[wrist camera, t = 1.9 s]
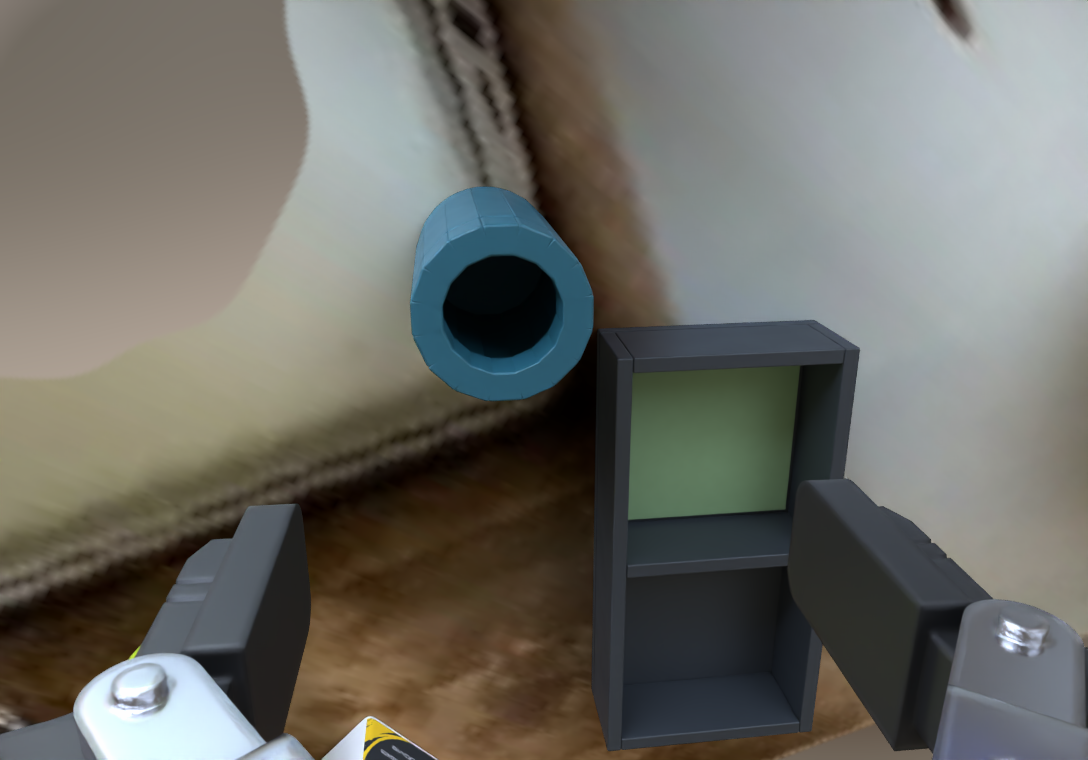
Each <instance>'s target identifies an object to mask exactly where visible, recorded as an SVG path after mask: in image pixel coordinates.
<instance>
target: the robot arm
mask: <svg viewBox="0 0 1088 760" xmlns="http://www.w3.org/2000/svg"><path fill="white" fill-rule="evenodd" d="M787 572H788V582H789V587H790V591H791V594H792V597H793V599H794V601H795V603H796V605H797V606H798V608H799V609H800V611H801V612H802V614H803V615H804V617H805V618H806V620H807V621H808V623H809V624H810V626H811V627H812V629H813V630H814V632H815V633H816V635H817V636H818V638H819V639H820V641H821V642H822V644H823V645H824V647H825V648H826V650H827V651H828V653H829V654H830V656H831V657H832V659H833V660H834V662H835V663H836V665H837V666H838V668H839V669H840V671H841V672H842V674H843V675H844V677H845V678H846V680H847V681H848V683H849V684H850V686H851V687H852V689H853V690H854V692H855V693H856V695H857V696H858V698H859V699H860V701H861V702H862V704H863V705H864V707H865V708H866V710H867V711H868V713H869V714H870V716H871V717H872V719H873V720H874V722H875V723H876V725H877V726H878V728H879V729H880V731H881V732H882V734H883V735H884V736H885V738H886V740H887V741H888V743H889V744H890V745H891V747H892V748H893V750H894V751H901V750H914V749H926V748H929V749H930V750H931V752H932V753H933V758H932V760H1088V648H1087V647H1084V644H1083V641H1082V639H1081V637H1080V636H1079V635H1078V634H1077V632H1076V631H1075V630H1074V629H1073V628H1072V627H1070V626H1069V625H1068V624H1067V623H1065V622H1064V621H1063V620H1061V619H1059V618H1058V617H1056V616H1054V615H1052V614H1050V613H1048V612H1046V611H1044V610H1041V609H1039V608H1036V607H1034V606H1030V605H1027V604H1024V603H1019V602H1015V601H1009V600H999V599H993V598H992V597H991V596H990V595H989V594H988V593H987V592H986V591H985V590H984V589H983V588H981V587H980V586H979V585H978V584H977V583H976V582H975V581H974V580H973V579H972V578H971V577H970V576H969V575H968V574H967V573H966V572H965V571H964V570H963V569H961V568H960V567H959V566H958V565H957V564H956V563H955V562H954V561H953V560H952V559H951V558H947V556H946V553H945V552H944V551H942V550H941V549H940V548H939V547H938V546H937V545H936V544H935V543H931V539H930V538H929V537H928V536H927V535H926V534H925V533H924V532H922V531H921V530H920V529H919V528H918V527H917V526H916V525H915V524H914V523H913V522H912V521H910V520H908V519H906V518H904V517H903V516H901V515H899V514H897V513H895V512H893V511H891V510H889V509H887V508H885V507H884V506H880V507H878V506H877V505H876V504H875V503H874V502H873V501H872V500H871V499H870V498H869V497H868V496H867V495H866V494H865V493H864V492H863V491H862V490H861V489H860V488H859V487H858V486H857V485H856V484H855V483H854V482H853V481H851V480H849V479H830V480H809V481H802V482H801V483H800V485H799V486H798V489H797V492H796V497H795V505H794V514H793V522H792V531H791V539H790V547H789V556H788V566H787ZM310 614H311V595H310V584H309V574H308V565H307V555H306V546H305V537H304V527H303V519H302V512H301V509H300V506H299V504H282V505H261V506H249V507H248V508H247V509H246V511H245V513H244V516H243V518H242V520H241V522H240V524H239V526H238V528H237V530H236V533H235V535H234V537H233V539H215V540H211V541H210V542H209V543H207V544H206V545H205V546H204V547H202V548H201V549H200V550H198V551H197V552H196V553H195V554H193V555H192V556H191V557H190V558H188V559H187V561H186V563H185V565H184V567H183V569H182V571H181V572H180V574H179V576H178V578H177V580H176V585H173V587H172V589H171V591H170V593H169V595H168V596H167V602H166V603H164V604H163V606H162V607H161V609H160V611H159V613H158V615H157V617H156V619H155V620H154V622H153V624H152V626H151V628H150V630H149V631H148V633H147V635H146V637H145V639H144V641H143V642H142V644H141V646H140V648H139V650H138V652H137V654H136V655H135V657H134V658H132V659H129V660H127V661H124V662H122V663H119V664H117V665H115V666H113V667H111V668H109V669H107V670H106V671H104V672H102V673H101V674H99V675H98V676H97V677H95V678H94V679H93V680H92V681H90V682H89V683H88V684H87V685H86V686H85V687H84V689H83V690H82V691H81V692H80V694H79V695H78V697H77V699H76V701H75V704H74V708H73V712H72V713H70V714H67V715H65V716H62V717H59V718H56V719H53V720H50V721H46V722H43V723H39V724H35V725H32V726H28V727H25V728H21V729H17V730H14V731H10V732H7V733H3V734H0V760H314V758H313V757H312V756H311V755H310V754H309V753H308V752H307V751H306V749H305V748H304V747H303V746H302V745H301V744H300V743H299V742H298V741H297V740H296V739H295V738H294V737H293V736H291V735H289V734H287V733H283V731H284V727H285V723H286V719H287V715H288V711H289V707H290V703H291V699H292V695H293V691H294V687H295V683H296V680H297V676H298V672H299V668H300V664H301V660H302V656H303V652H304V648H305V644H306V640H307V636H308V631H309V625H310Z"/></svg>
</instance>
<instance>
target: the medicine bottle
mask: <svg viewBox="0 0 1088 760" xmlns="http://www.w3.org/2000/svg"><path fill="white" fill-rule="evenodd" d="M321 760H438V759H437V758H435V757H434V756H432V755H431V754H429V753H428V752H426V751H425V750H423V749H422V748H420V747H419V746H417V745H416V744H414V743H413V742H411V741H410V740H408V739H407V738H405V737H403V736H402V735H400V734H399V733H397V732H396V731H394V730H393V729H391V728H390V727H388V726H387V725H385V724H384V723H382V722H381V721H379V720H378V719H376V718H375V717H372V716H369V717H366V718H365V719H363V720H362V721H361V722H360V723H359V724H358V725H357V726H356V727H355V728H354V729H353V730H352V731H351V732H350V733H349V734H348V735H347V736H346V737H344V738H343V739H342V740H341V741H340V742H339V743H338V744H337V745H336V746H335V747H334V748H333V749H332V750H331V751H330V752H329V753H328V754H327V755H325V756H324V757H323V758H322V759H321Z"/></svg>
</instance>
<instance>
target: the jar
mask: <svg viewBox="0 0 1088 760" xmlns="http://www.w3.org/2000/svg"><path fill="white" fill-rule="evenodd" d="M593 302H594V297H593V295H592V289H591V287H590V285H589V282H588V280H587V277H586V275H585V272H584V270H583V268H582V265H581V264H580V262H579V261H578V259H577V258H576V257H575V255H574V254H573V253H572V252H571V250H570V249H569V248H568V247H567V245H566V244H565V243H564V242H563V240H562V239H561V238H560V237H559V236H558V234H557V233H556V232H555V231H554V229H553V228H552V227H551V226H550V224H549V223H548V222H547V221H546V220H545V218H544V217H543V216H542V215H541V214H540V213H539V212H538V211H537V210H536V209H535V208H534V207H533V206H532V205H531V204H530V203H529V202H528V201H527V200H526V199H524V198H523V197H520V196H519V195H517V194H515V193H513V192H511V191H508V190H504V189H501V188H496V187H474V188H470V189H465V190H463V191H460V192H457V193H455V194H453V195H452V196H450V197H448V198H447V199H445V200H444V201H443V202H441V203H440V204H439V205H438V206H437V207H436V208H435V209H434V210H433V212H432V213H431V214H430V215H429V217H428V218H427V220H426V221H425V224H424V226H423V228H422V231H421V234H420V237H419V241H418V243H417V248H416V256H415V264H414V273H413V281H412V290H411V300H410V311H411V327H412V335H413V339H414V341H415V343H416V345H417V347H418V349H419V351H420V353H421V355H422V357H423V359H424V361H425V363H426V365H427V366H428V367H429V369H430V370H431V371H432V372H433V373H434V374H436V375H437V376H438V377H439V378H440V379H441V380H443V381H444V382H445V383H446V384H447V385H449V386H450V387H451V388H452V389H454V390H456V391H457V392H460V393H463V394H466V395H469V396H472V397H475V398H478V399H481V400H484V401H507V400H521V399H526V398H529V397H531V396H533V395H535V394H538V393H540V392H542V391H544V390H547V389H549V388H551V387H553V386H554V385H556V384H557V383H558V382H559V381H560V380H561V379H562V378H563V377H564V376H565V375H566V374H567V373H568V372H569V371H570V370H571V369H572V368H573V367H574V366H575V365H576V364H577V363H578V361H579V360H580V359H581V356H582V354H583V352H584V350H585V347H586V345H587V343H588V340H589V338H590V336H591V333H592V329H593Z"/></svg>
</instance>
